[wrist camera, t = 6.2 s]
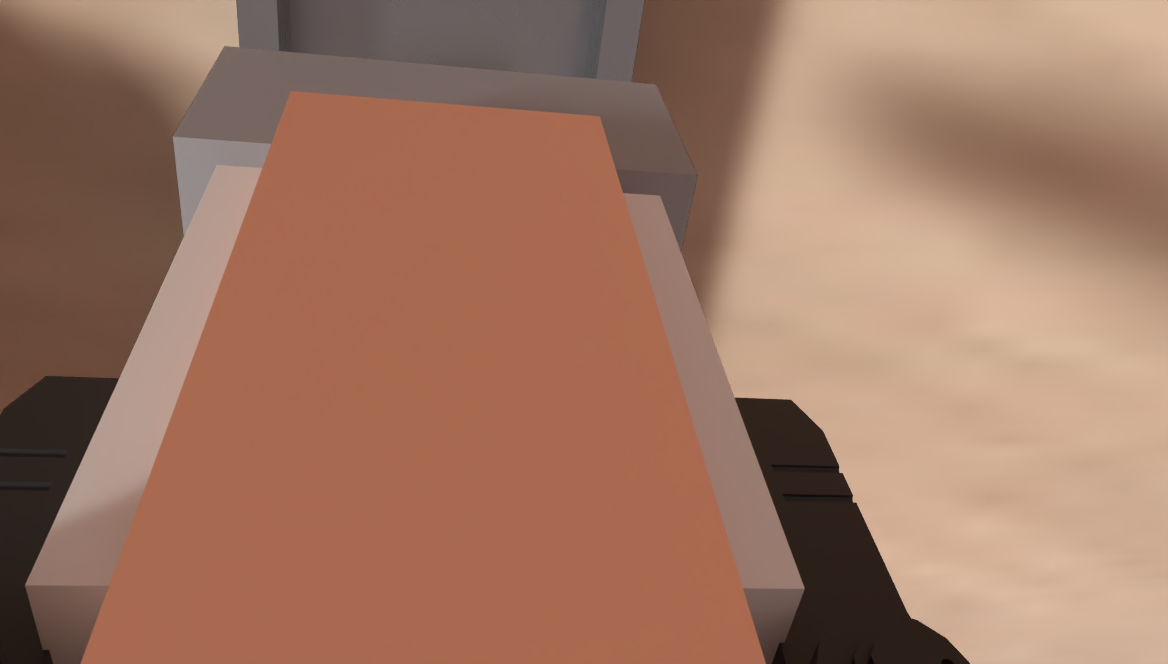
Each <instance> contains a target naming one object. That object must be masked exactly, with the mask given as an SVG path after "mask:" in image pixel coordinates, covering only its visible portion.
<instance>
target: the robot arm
mask: <svg viewBox="0 0 1168 664" xmlns="http://www.w3.org/2000/svg"><path fill="white" fill-rule="evenodd" d="M261 171H262V168H256V167H241V166H227V165H216V167H215V170H214V172H213V174H212V176H211V178H210V181H209V183H208V185H207V187H206V189H205V192H204V194H203V196H202V198H201V200H200V203H199V205H198V207H197V209H196V211H195V214H194V216H193V218H192V220H191V222H190V224H189V227H188V229H187V231H186V233H185V235H184V238H183V240H182V242H181V244H180V246H179V249H178V251H177V253H176V255H175V257H174V260H173V262H172V264H171V266H170V268H169V271H168V273H167V275H166V277H165V279H164V282H163V284H162V286H161V288H160V290H159V293H158V295H157V297H156V299H155V301H154V303H153V306H152V308H151V310H150V312H149V314H148V317H147V319H146V321H145V323H144V325H143V328H142V330H141V332H140V334H139V336H138V339H137V341H136V343H135V345H134V347H133V350H132V352H131V354H130V356H129V358H128V361H127V363H126V365H125V367H124V369H123V371H122V374H121V376H120V378H119V379H116V378H88V377H61V376H46V377H44V378H43V379H42V380H41V381H39V382H38V383H37V384H35V385H34V386H33V387H31V388H30V389H29V390H28V391H26V392H25V393H24V394H22V395H21V396H20V397H18V398H17V399H16V400H15V401H13V402H12V403H11V404H9V405H8V406H7V407H6V408H4V409H3V411H2V413H1V415H0V664H81V661H82V658H83V656H84V653H85V650H86V647H87V645H88V642H89V639H90V636H91V634H92V631H93V628H94V626H95V623H96V620H97V617H98V615H99V612H100V609H101V606H102V604H103V601H104V598H105V596H106V593H107V590H108V587H109V585H110V582H111V579H112V577H113V574H114V571H115V568H116V566H117V563H118V560H119V557H120V555H121V552H122V549H123V547H124V544H125V541H126V538H127V536H128V533H129V530H130V527H131V525H132V522H133V519H134V517H135V514H136V511H137V508H138V506H139V503H140V500H141V497H142V495H143V492H144V489H145V487H146V484H147V481H148V478H149V476H150V473H151V470H152V468H153V465H154V462H155V459H156V457H157V454H158V451H159V448H160V446H161V443H162V440H163V438H164V435H165V432H166V429H167V427H168V424H169V421H170V418H171V416H172V413H173V410H174V408H175V405H176V402H177V399H178V397H179V394H180V391H181V389H182V386H183V383H184V380H185V378H186V375H187V372H188V369H189V367H190V364H191V361H192V359H193V356H194V353H195V350H196V348H197V345H198V342H199V339H200V337H201V334H202V331H203V329H204V326H205V323H206V320H207V318H208V315H209V312H210V309H211V307H212V304H213V301H214V299H215V296H216V293H217V290H218V288H219V285H220V282H221V280H222V277H223V274H224V271H225V269H226V266H227V263H228V260H229V258H230V255H231V252H232V250H233V247H234V244H235V241H236V239H237V236H238V233H239V230H240V228H241V225H242V222H243V220H244V217H245V214H246V211H247V209H248V206H249V203H250V200H251V198H252V195H253V192H254V190H255V187H256V184H257V181H258V179H259V176H260V173H261ZM623 195H624V198H625V201H626V204H627V208H628V211H629V214H630V218H631V221H632V224H633V228H634V231H635V234H636V237H637V241H638V244H639V247H640V251H641V254H642V257H643V261H644V264H645V267H646V270H647V274H648V277H649V280H650V284H651V287H652V290H653V293H654V297H655V300H656V303H657V307H658V310H659V313H660V317H661V320H662V323H663V326H664V330H665V333H666V336H667V340H668V343H669V346H670V349H671V353H672V356H673V359H674V363H675V366H676V369H677V373H678V376H679V379H680V382H681V386H682V389H683V392H684V396H685V399H686V402H687V405H688V409H689V412H690V415H691V419H692V422H693V425H694V429H695V432H696V435H697V438H698V442H699V445H700V448H701V452H702V455H703V458H704V461H705V465H706V468H707V471H708V475H709V478H710V481H711V485H712V488H713V491H714V494H715V498H716V501H717V504H718V508H719V511H720V514H721V518H722V521H723V524H724V527H725V531H726V534H727V537H728V541H729V544H730V547H731V550H732V554H733V557H734V560H735V564H736V567H737V570H738V574H739V577H740V580H741V583H742V587H743V590H744V593H745V597H746V600H747V603H748V606H749V610H750V613H751V616H752V620H753V623H754V626H755V630H756V633H757V636H758V639H759V643H760V646H761V649H762V653H763V656H764V659H765V662H766V664H970V663H969V662H968V661H967V660H966V659H965V658H964V656H963V655H962V654H961V653H960V652H959V651H958V650H957V649H956V648H955V647H954V646H953V645H952V644H951V643H950V642H949V641H948V640H947V639H946V638H945V637H943V636H942V635H940V634H938V633H937V632H935V631H934V630H932V629H930V628H929V627H927V626H926V625H924V624H922V623H921V622H919V621H918V620H915V619H911V618H910V616H909V614H908V613H907V611H906V609H905V607H904V604H903V602H902V600H901V598H900V596H899V594H898V591H897V589H896V587H895V585H894V583H893V581H892V579H891V576H890V574H889V572H888V570H887V568H886V566H885V563H884V561H883V559H882V557H881V555H880V553H879V551H878V548H877V546H876V544H875V542H874V540H873V538H872V536H871V533H870V531H869V529H868V527H867V525H866V523H865V520H864V518H863V516H862V514H861V512H860V510H859V508H858V505H857V503H853V501H852V497H853V495H852V492H851V490H850V488H849V486H848V484H847V482H846V480H845V477H844V475H843V473H839V464H838V462H837V460H836V458H835V456H834V454H833V452H832V449H831V447H830V445H829V443H828V441H827V439H826V436H825V434H824V432H823V431H822V430H821V429H820V428H819V427H818V426H817V425H816V424H815V423H814V422H813V421H812V420H811V419H810V418H809V417H808V416H807V415H806V414H805V413H804V412H803V411H802V410H801V409H800V408H799V407H798V406H797V405H796V404H795V403H794V402H793V401H792V400H783V399H756V398H734V395H733V392H732V390H731V387H730V384H729V382H728V379H727V376H726V373H725V371H724V368H723V365H722V363H721V360H720V357H719V354H718V352H717V349H716V346H715V344H714V341H713V338H712V335H711V333H710V330H709V327H708V325H707V322H706V319H705V316H704V314H703V311H702V308H701V305H700V303H699V300H698V297H697V295H696V292H695V289H694V286H693V284H692V281H691V278H690V276H689V273H688V270H687V267H686V265H685V262H684V259H683V257H682V254H681V251H680V248H679V246H678V243H677V240H676V238H675V235H674V232H673V229H672V227H671V224H670V221H669V219H668V216H667V213H666V210H665V208H664V205H663V202H662V199H661V197H660V196H658V195H644V194H630V193H623Z"/></svg>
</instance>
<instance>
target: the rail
mask: <svg viewBox="0 0 1168 664" xmlns="http://www.w3.org/2000/svg"><path fill="white" fill-rule="evenodd" d="M236 3H237V17H238V32H239V46H240V48H250V49H261V50H273V51H284V52H296V53H307V54H318V55H330V56H341V57H352V58H364V59H375V60H386V61H398V62H409V63H420V64H432V65H443V66H454V67H466V68H477V69H488V70H500V71H511V72H522V73H534V74H545V75H556V76H568V77H579V78H591V79H602V80H613V81H625V82H632V76H633V69H634V63H635V57H636V50H637V44H638V38H639V32H640V25H641V19H642V13H643V7H644V0H236Z"/></svg>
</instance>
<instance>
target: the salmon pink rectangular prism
mask: <svg viewBox="0 0 1168 664" xmlns="http://www.w3.org/2000/svg"><path fill="white" fill-rule="evenodd" d="M173 144H174V153H175V162H176V171H177V180H178V189H179V198H180V207H181V216H182V225H183V234H184V235H185V233H186V231H187V229H188V227H189V224H190V222H191V220H192V218H193V216H194V214H195V211H196V209H197V207H198V205H199V203H200V200H201V198H202V196H203V194H204V192H205V189H206V187H207V185H208V183H209V181H210V178H211V176H212V174H213V172H214V170H215V167H216V165H227V166H241V167H256V168H262V171H261V173H260V176H259V179H258V181H257V184H256V187H255V190H254V192H253V195H252V198H251V200H250V203H249V206H248V209H247V211H246V214H245V217H244V220H243V222H242V225H241V228H240V230H239V233H238V236H237V239H236V241H235V244H234V247H233V250H232V252H231V255H230V258H229V260H228V263H227V266H226V269H225V271H224V274H223V277H222V280H221V282H220V285H219V288H218V290H217V293H216V296H215V299H214V301H213V304H212V307H211V309H210V312H209V315H208V318H207V320H206V323H205V326H204V329H203V331H202V334H201V337H200V339H199V342H198V345H197V348H196V350H195V353H194V356H193V359H192V361H191V364H190V367H189V369H188V372H187V375H186V378H185V380H184V383H183V386H182V389H181V391H180V394H179V397H178V399H177V402H176V405H175V408H174V410H173V413H172V416H171V418H170V421H169V424H168V427H167V429H166V432H165V435H164V438H163V440H162V443H161V446H160V448H159V451H158V454H157V457H156V459H155V462H154V465H153V468H152V470H151V473H150V476H149V478H148V481H147V484H146V487H145V489H144V492H143V495H142V497H141V500H140V503H139V506H138V508H137V511H136V514H135V517H134V519H133V522H132V525H131V527H130V530H129V533H128V536H127V538H126V541H125V544H124V547H123V549H122V552H121V555H120V557H119V560H118V563H117V566H116V568H115V571H114V574H113V577H112V579H111V582H110V585H109V587H108V590H107V593H106V596H105V598H104V601H103V604H102V606H101V609H100V612H99V615H98V617H97V620H96V623H95V626H94V628H93V631H92V634H91V636H90V639H89V642H88V645H87V647H86V650H85V653H84V656H83V658H82V661H81V664H766V662H765V659H764V656H763V653H762V649H761V646H760V643H759V639H758V636H757V633H756V630H755V626H754V623H753V620H752V616H751V613H750V610H749V606H748V603H747V600H746V597H745V593H744V590H743V587H742V583H741V580H740V577H739V574H738V570H737V567H736V564H735V560H734V557H733V554H732V550H731V547H730V544H729V541H728V537H727V534H726V531H725V527H724V524H723V521H722V518H721V514H720V511H719V508H718V504H717V501H716V498H715V494H714V491H713V488H712V485H711V481H710V478H709V475H708V471H707V468H706V465H705V461H704V458H703V455H702V452H701V448H700V445H699V442H698V438H697V435H696V432H695V429H694V425H693V422H692V419H691V415H690V412H689V409H688V405H687V402H686V399H685V396H684V392H683V389H682V386H681V382H680V379H679V376H678V373H677V369H676V366H675V363H674V359H673V356H672V353H671V349H670V346H669V343H668V340H667V336H666V333H665V330H664V326H663V323H662V320H661V317H660V313H659V310H658V307H657V303H656V300H655V297H654V293H653V290H652V287H651V284H650V280H649V277H648V274H647V270H646V267H645V264H644V261H643V257H642V254H641V251H640V247H639V244H638V241H637V237H636V234H635V231H634V228H633V224H632V221H631V218H630V214H629V211H628V208H627V204H626V201H625V198H624V195H623V193H630V194H644V195H658V196H660V197H661V199H662V202H663V205H664V208H665V210H666V213H667V216H668V219H669V221H670V224H671V227H672V229H673V232H674V235H675V238H676V240H677V243H678V246H679V248H680V251H682V246H683V241H684V237H685V232H686V227H687V222H688V218H689V213H690V208H691V204H692V199H693V194H694V189H695V185H696V180H697V173H696V171H695V169H694V166H693V164H692V162H691V160H690V158H689V155H688V153H687V151H686V149H685V147H684V144H683V142H682V140H681V138H680V136H679V133H678V131H677V129H676V127H675V125H674V122H673V120H672V118H671V116H670V114H669V111H668V109H667V107H666V105H665V102H664V100H663V98H662V96H661V94H660V91H659V89H658V87H657V85H656V84H647V83H636V82H625V81H613V80H602V79H591V78H579V77H568V76H556V75H545V74H534V73H522V72H511V71H500V70H488V69H477V68H466V67H454V66H443V65H432V64H420V63H409V62H398V61H386V60H375V59H364V58H352V57H341V56H330V55H318V54H307V53H296V52H284V51H273V50H261V49H250V48H239V47H227V46H224V48H223V50H222V51H221V53H220V55H219V57H218V58H217V60H216V62H215V64H214V65H213V67H212V69H211V71H210V72H209V74H208V76H207V78H206V79H205V81H204V83H203V85H202V86H201V88H200V90H199V92H198V93H197V95H196V97H195V99H194V100H193V102H192V104H191V106H190V107H189V109H188V111H187V113H186V114H185V116H184V118H183V120H182V121H181V123H180V125H179V127H178V128H177V130H176V132H175V134H174V135H173Z"/></svg>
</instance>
